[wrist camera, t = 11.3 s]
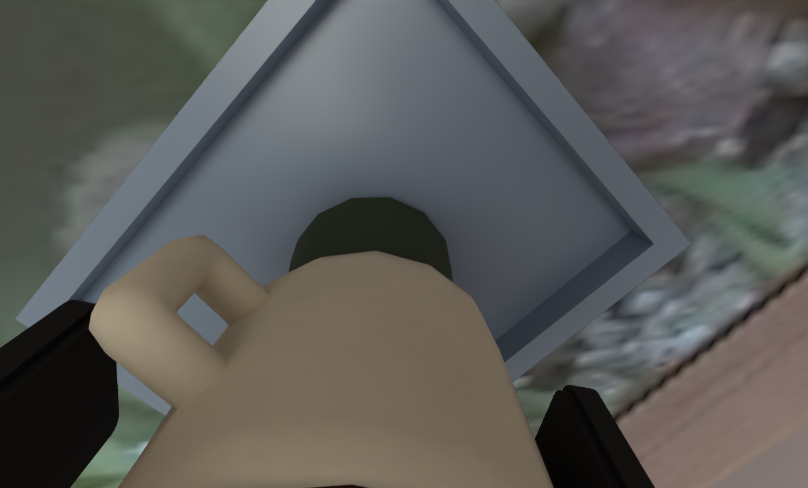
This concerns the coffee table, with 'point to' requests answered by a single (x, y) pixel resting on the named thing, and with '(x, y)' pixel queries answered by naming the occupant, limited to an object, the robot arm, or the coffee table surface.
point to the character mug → (321, 365)
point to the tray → (388, 168)
